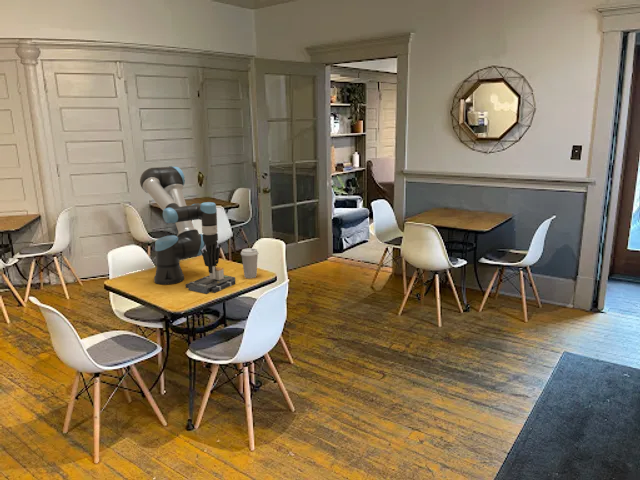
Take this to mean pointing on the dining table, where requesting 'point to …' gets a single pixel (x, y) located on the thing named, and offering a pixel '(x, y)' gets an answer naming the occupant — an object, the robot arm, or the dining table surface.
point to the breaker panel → (208, 284)
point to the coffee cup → (250, 262)
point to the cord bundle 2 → (223, 286)
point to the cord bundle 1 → (196, 281)
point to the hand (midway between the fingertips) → (212, 278)
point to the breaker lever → (219, 273)
